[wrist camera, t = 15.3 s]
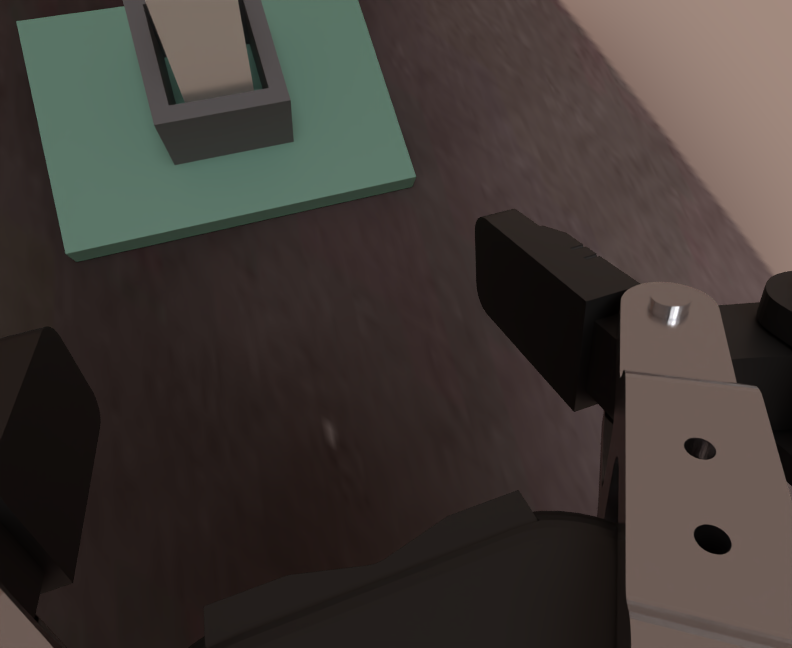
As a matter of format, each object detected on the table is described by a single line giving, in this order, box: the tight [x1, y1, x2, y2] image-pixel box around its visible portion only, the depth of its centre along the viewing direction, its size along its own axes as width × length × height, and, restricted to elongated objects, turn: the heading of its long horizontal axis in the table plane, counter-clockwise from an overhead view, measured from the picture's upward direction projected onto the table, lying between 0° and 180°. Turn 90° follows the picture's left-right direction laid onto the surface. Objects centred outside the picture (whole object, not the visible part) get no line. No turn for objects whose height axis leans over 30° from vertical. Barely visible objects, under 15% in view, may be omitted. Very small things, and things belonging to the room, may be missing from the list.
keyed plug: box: [145, 0, 254, 103], centre depth 30 cm, size 5×4×11 cm
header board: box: [16, 0, 416, 262], centre depth 34 cm, size 16×22×6 cm
